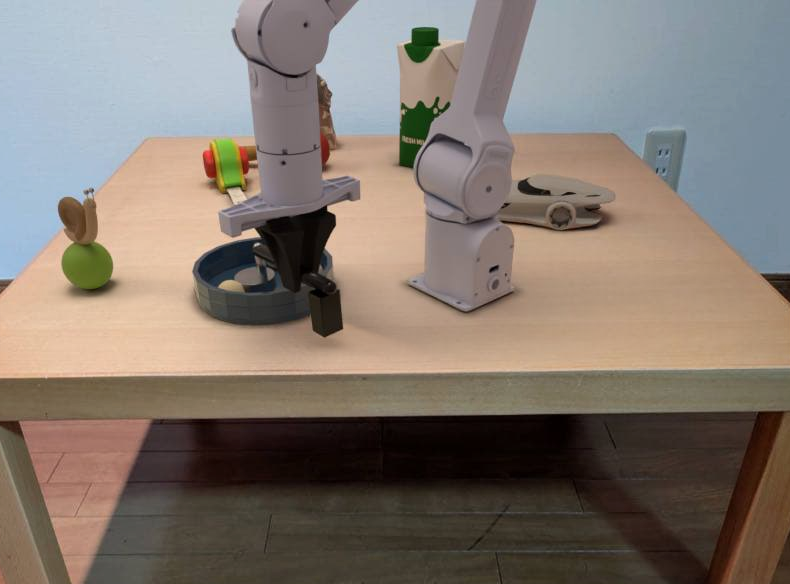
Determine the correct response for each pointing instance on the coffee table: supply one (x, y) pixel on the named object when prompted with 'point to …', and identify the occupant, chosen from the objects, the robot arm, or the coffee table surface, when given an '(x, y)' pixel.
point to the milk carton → (424, 86)
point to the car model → (554, 202)
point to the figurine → (325, 112)
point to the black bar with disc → (320, 299)
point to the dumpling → (231, 286)
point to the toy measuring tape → (227, 167)
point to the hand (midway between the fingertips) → (299, 286)
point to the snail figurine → (83, 244)
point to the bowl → (243, 305)
